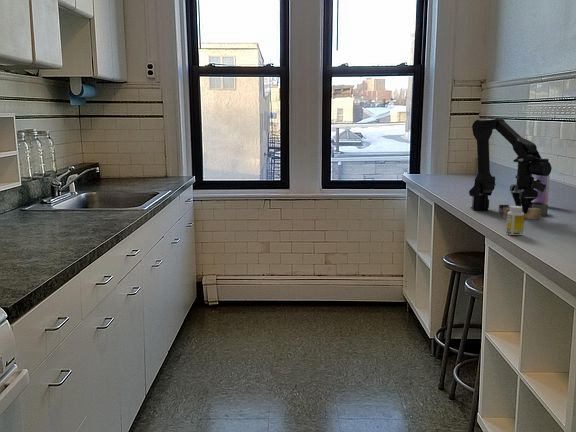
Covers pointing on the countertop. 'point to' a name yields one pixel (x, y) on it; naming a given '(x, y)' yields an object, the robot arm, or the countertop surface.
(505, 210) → the rail
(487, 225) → the countertop surface
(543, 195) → the beverage can
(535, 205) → the bracket
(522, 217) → the supplement bottle
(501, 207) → the dark grey arch block
